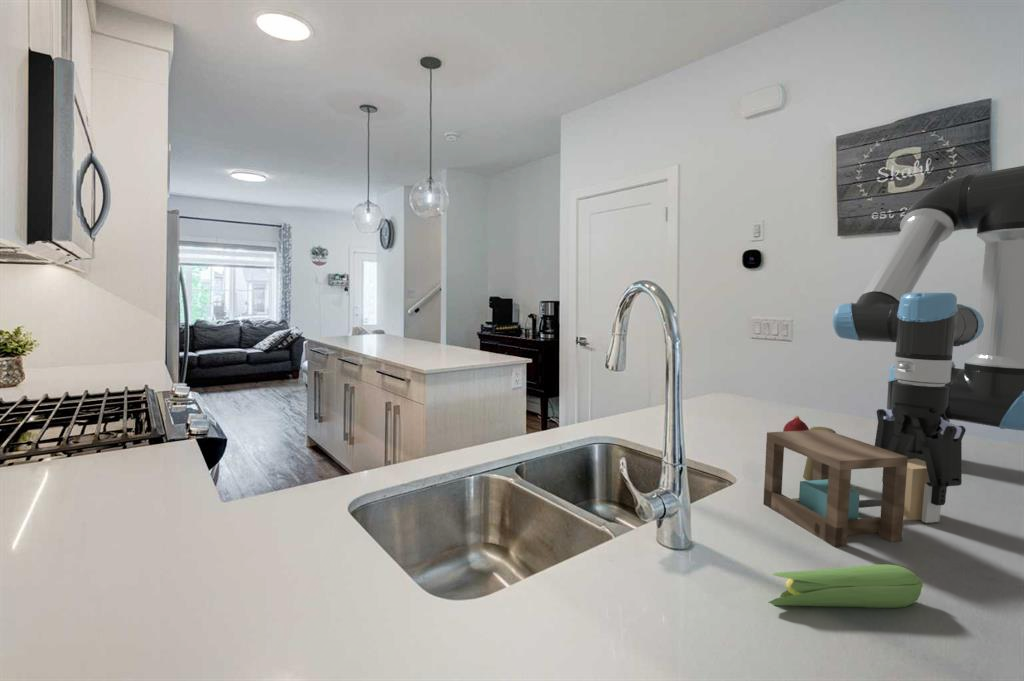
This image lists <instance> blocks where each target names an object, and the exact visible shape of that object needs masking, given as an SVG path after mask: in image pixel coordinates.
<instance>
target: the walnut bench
mask: <svg viewBox="0 0 1024 681" xmlns="http://www.w3.org/2000/svg"><path fill="white" fill-rule="evenodd" d="M765 445H766V446H765V447H766V448H765V465H764V469H765V470H764V483H763V484H764V486H763V505H765V506H766V507H768V508H770V509H771V510H773V511H775V512H777V514H779V515H781V516H782V517H785V518H786V519H787V520H790V521H791V522H792V523H795V525H798V526H800V527H801V528H803V529H805V530H806V531H808V532H809V533H811V534H812V535H814V536H816V537H817V538H819V539H821V540H822V541H824V542H826V543H828V544H829V545H830V546H832V547H834V548H842V547H847V542H848V540H847V539H848V536H851V535H861V534H872V533H878V534H879V535H878V536H880V537H881V538H883V539H885V540H887V541H889V542H900V541H902V540H903V528H904V527H903V526H904V518H903V517H904V503H905V490H906V477H907V463H908V457H907V456H904V455H901V454H898V453H895V452H892V451H889V450H886V449H882V448H879V447H876V446H875V445H873V444H870V443H868V442H864V441H861V440H858V439H854V438H851V437H850V436H849V437H848V436H845V435H843V434H839V433H837V432H836V433H834V432H831V431H828V430H810V429H809V430H805V431H785V432H783V431H769V432H766V444H765ZM785 449H787V450H790V451H792V452H795V453H798V454H800V455H802V456H804V457H806V458H807V457H809V458H811V459H813V476H812V480H825V479H828V491H827V507H826V518H825V517H823V516H821V515H819V514H817V513H816V512H814V511H812V510H810V509H808V508H806V507H805V506H803V505H801V504H799V497H797V498H796V497H795V498H794V497H793V498H789V497H788V496H786V495H784V494H783V473H784V457H785V456H784V455H785V451H784V450H785ZM883 467H884V474H883V473H882V478H883V482H882V490H881V499H882V502H881V506H880V516H873V517H866V518H862V517H861V518H858V519H851V520H848V514H849V498H850V488H851V481H852V480H851V479H852V470H863V469H878V468H883Z"/></svg>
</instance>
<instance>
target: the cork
mask: <svg viewBox="0 0 1024 681" xmlns="http://www.w3.org/2000/svg"><path fill="white" fill-rule="evenodd" d="M809 430H828V431H831V432H834V433H837V432H836V431H835V430H834V429H832V428H829V427H827V426H812V427H811V428H809ZM812 476H813V459H811V458H809V457H807V456H806V460H805V465H804V469H803V474H802V478H803V479H804V480H805V481H811V480H812Z"/></svg>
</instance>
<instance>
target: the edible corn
mask: <svg viewBox="0 0 1024 681" xmlns="http://www.w3.org/2000/svg"><path fill="white" fill-rule="evenodd" d="M772 576H775V577H779V578H784V579H787V580H786V582H785V586H786V587H785V588H786V589H787V590H785V591H783V592H781V594H780V596H779V597H776V598H774V599H772V600H770V601H768V602H767V603H768V604H771V605H773V606H777V607H778V605H779V606H781V607H782V606H784V607H785V606H786V607H787V606H788V607H789V606H792V607H793V606H794V607H795V606H801V607H836V608H837V607H843V608H849V607H850V608H851V607H852V608H875V609H876V608H884V609H885V608H886V609H887V608H888V609H889V608H891V609H892V608H896V609H897V608H905V607H909V606H910V605H912V604H914V603H915V602H917V601H918V600H919V598H920V596H921V595H922V594H921V593H922V588H923V584H924V583H923V581H922V579H921V577H919V576H918V575H917V574H915V573H914V572H913V571H912V570H909V569H907V568H906V567H903V566H901V565H899V564H898V565H896V564H884V563H883V564H867V565H856V566H846V567H838V568H837V567H836V568H834V567H833V568H824V569H812V570H811V569H809V570H796V571H781V572H775V573H773V574H772Z"/></svg>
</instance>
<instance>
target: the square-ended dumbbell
mask: <svg viewBox="0 0 1024 681" xmlns="http://www.w3.org/2000/svg"><path fill="white" fill-rule="evenodd" d="M926 482H930V480H929V476H928V472H927V467H926V463H925V461H922V460H919V459H908V463H907V477H906V490H905V503H904V517H903V519H904V520H907V521H918V520H922V509H923V497H924V485H925V483H926ZM827 491H828V479H825V480H811V481H807V480H800V481H799V494H798V498H799V504H801V505H803V506H805V507H806V508H808V509H810V510H812V511H814V512H816V513H817V514H819V515H821V516H823V517H825V518H826V507H827ZM860 495H861V494H860V492H859V491H858V490H856V489H853V488H851V487H850V498H849V514H848V520H851V519H859V509H862V508H874V507H881V502H882V498H874V499H873V498H871V499H860Z"/></svg>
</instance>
